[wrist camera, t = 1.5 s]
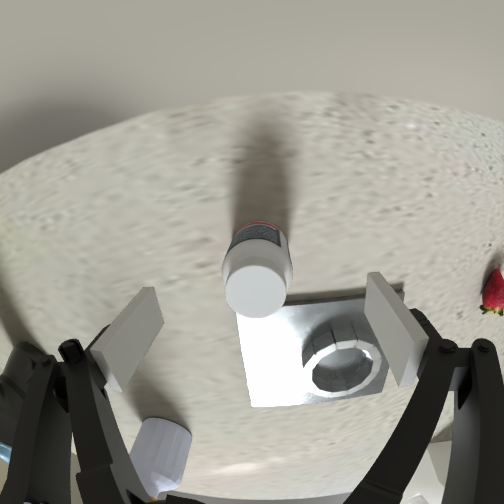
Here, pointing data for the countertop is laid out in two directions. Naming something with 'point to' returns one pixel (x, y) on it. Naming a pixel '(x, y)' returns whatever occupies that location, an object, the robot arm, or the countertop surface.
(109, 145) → the countertop surface
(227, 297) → the pill bottle
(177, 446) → the soap bottle
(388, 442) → the robot arm
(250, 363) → the duct plate
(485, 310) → the fruit
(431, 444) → the white toy house
